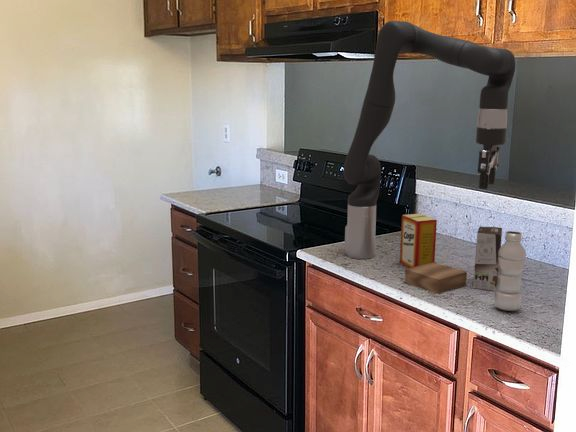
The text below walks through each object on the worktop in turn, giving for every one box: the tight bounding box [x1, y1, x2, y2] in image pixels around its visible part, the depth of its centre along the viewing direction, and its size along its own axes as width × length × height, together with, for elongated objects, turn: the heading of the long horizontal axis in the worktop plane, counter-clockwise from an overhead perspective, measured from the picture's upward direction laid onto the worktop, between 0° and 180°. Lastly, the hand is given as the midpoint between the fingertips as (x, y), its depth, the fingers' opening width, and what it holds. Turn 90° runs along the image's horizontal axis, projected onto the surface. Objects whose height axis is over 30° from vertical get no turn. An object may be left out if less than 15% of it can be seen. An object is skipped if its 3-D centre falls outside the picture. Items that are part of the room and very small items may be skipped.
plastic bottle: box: [493, 230, 527, 312], centre depth 154 cm, size 6×7×20 cm
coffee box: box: [472, 225, 503, 292], centre depth 174 cm, size 9×6×16 cm
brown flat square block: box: [404, 261, 468, 295], centre depth 176 cm, size 12×12×4 cm
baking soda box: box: [399, 213, 438, 269], centre depth 191 cm, size 10×6×16 cm
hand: (486, 186), depth 168 cm, fingers open, 8 cm apart
